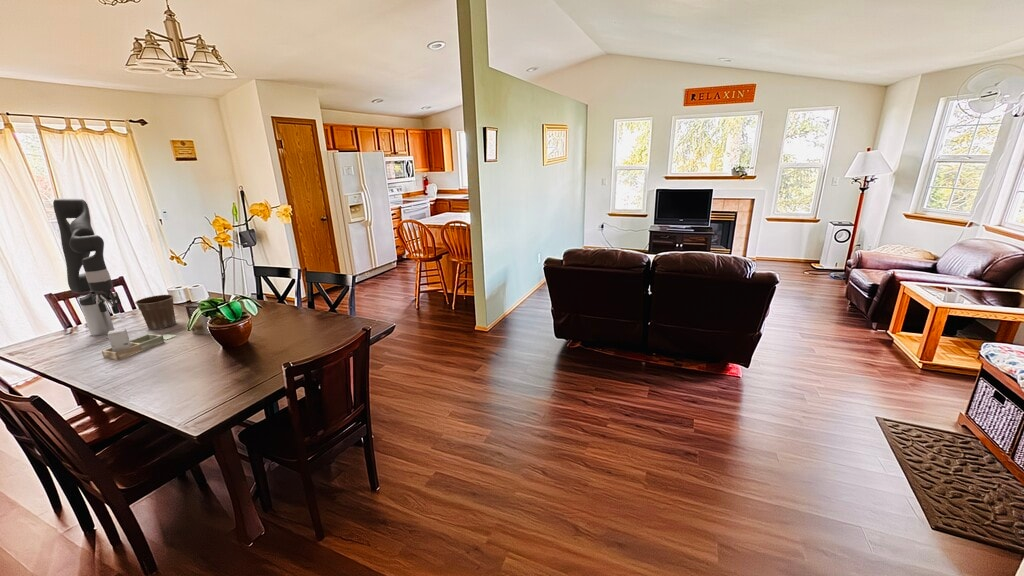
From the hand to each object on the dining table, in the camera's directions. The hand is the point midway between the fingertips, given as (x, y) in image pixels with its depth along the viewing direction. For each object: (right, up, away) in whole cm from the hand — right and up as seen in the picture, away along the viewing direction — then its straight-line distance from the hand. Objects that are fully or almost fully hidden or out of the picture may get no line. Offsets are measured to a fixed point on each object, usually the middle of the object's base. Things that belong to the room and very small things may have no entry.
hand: (110, 312), depth 186 cm
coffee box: (+20, -13, +31) cm, 39 cm away
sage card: (+5, -15, +25) cm, 29 cm away
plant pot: (-10, -10, +40) cm, 42 cm away
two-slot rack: (+1, -19, +11) cm, 22 cm away
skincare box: (0, -21, +7) cm, 22 cm away
